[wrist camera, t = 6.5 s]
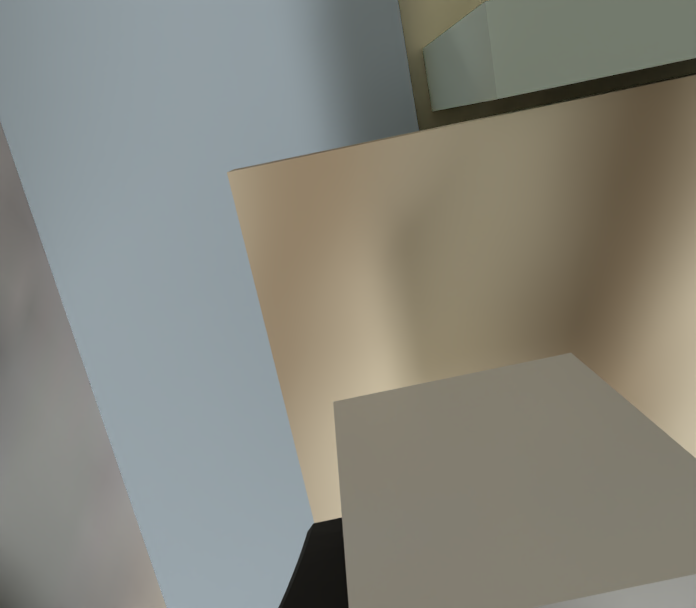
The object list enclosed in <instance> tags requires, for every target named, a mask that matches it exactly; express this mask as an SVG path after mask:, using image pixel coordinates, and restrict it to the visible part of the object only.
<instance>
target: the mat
mask: <svg viewBox="0 0 696 608" xmlns="http://www.w3.org/2000/svg"><path fill="white" fill-rule="evenodd" d="M0 122H1V125H2V128H3V131H4V134H5V136H6V139H7V142H8V145H9V148H10V151H11V154H12V157H13V160H14V163H15V166H16V169H17V171H18V174H19V177H20V180H21V183H22V186H23V189H24V192H25V195H26V198H27V201H28V204H29V207H30V209H31V212H32V215H33V218H34V221H35V224H36V227H37V230H38V233H39V236H40V239H41V242H42V244H43V247H44V250H45V253H46V256H47V259H48V262H49V265H50V268H51V271H52V274H53V277H54V280H55V282H56V285H57V288H58V291H59V294H60V297H61V300H62V303H63V306H64V309H65V312H66V315H67V317H68V320H69V323H70V326H71V329H72V332H73V335H74V338H75V341H76V344H77V347H78V350H79V353H80V355H81V358H82V361H83V364H84V367H85V370H86V373H87V376H88V379H89V382H90V385H91V388H92V390H93V393H94V396H95V399H96V402H97V405H98V408H99V411H100V414H101V417H102V420H103V423H104V426H105V428H106V431H107V434H108V437H109V440H110V443H111V446H112V449H113V452H114V455H115V458H116V461H117V463H118V466H119V469H120V472H121V475H122V478H123V481H124V484H125V487H126V490H127V493H128V496H129V499H130V501H131V504H132V507H133V510H134V513H135V516H136V519H137V522H138V525H139V528H140V531H141V534H142V536H143V539H144V542H145V545H146V548H147V551H148V554H149V557H150V560H151V563H152V566H153V569H154V572H155V574H156V577H157V580H158V583H159V586H160V589H161V592H162V595H163V598H164V601H165V604H166V607H167V608H278V607H279V605H280V603H281V601H282V599H283V596H284V594H285V592H286V589H287V587H288V584H289V582H290V579H291V577H292V574H293V572H294V569H295V567H296V564H297V561H298V559H299V556H300V553H301V550H302V547H303V544H304V541H305V538H306V535H307V531H308V530H309V529H310V527H311V526H312V524H313V523H314V520H313V516H312V512H311V508H310V504H309V500H308V496H307V492H306V488H305V484H304V480H303V476H302V472H301V468H300V464H299V460H298V456H297V452H296V448H295V444H294V440H293V436H292V432H291V428H290V424H289V420H288V416H287V412H286V408H285V404H284V400H283V396H282V392H281V388H280V384H279V380H278V376H277V371H276V367H275V363H274V359H273V355H272V351H271V347H270V343H269V339H268V335H267V331H266V327H265V323H264V319H263V315H262V311H261V307H260V303H259V299H258V295H257V291H256V287H255V283H254V279H253V275H252V271H251V267H250V263H249V259H248V255H247V251H246V247H245V243H244V239H243V235H242V231H241V227H240V223H239V219H238V215H237V211H236V207H235V203H234V199H233V195H232V191H231V187H230V183H229V179H228V175H227V172H229V171H231V170H233V169H238V168H243V167H248V166H253V165H257V164H262V163H267V162H272V161H277V160H282V159H286V158H291V157H296V156H301V155H306V154H310V153H315V152H320V151H325V150H330V149H334V148H339V147H344V146H349V145H354V144H358V143H363V142H368V141H373V140H378V139H382V138H387V137H392V136H397V135H402V134H407V133H411V132H416V131H419V127H418V121H417V115H416V109H415V102H414V96H413V90H412V84H411V78H410V71H409V65H408V59H407V53H406V47H405V40H404V34H403V28H402V22H401V16H400V9H399V3H398V0H0Z"/></svg>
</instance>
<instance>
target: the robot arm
mask: <svg viewBox="0 0 696 608" xmlns="http://www.w3.org/2000/svg"><path fill="white" fill-rule="evenodd" d="M278 608H349V604H348V591H347V578H346V564H345V551H344V538H343V525H342V517H341V518H337V519H332V520H327V521H322V522H317V523H313V524H312V526H311V527H310V529H309V530H308V531H307V535H306V538H305V541H304V544H303V547H302V550H301V553H300V556H299V559H298V561H297V564H296V567H295V569H294V572H293V574H292V577H291V579H290V582H289V584H288V587H287V589H286V592H285V594H284V596H283V599H282V601H281V603H280V605H279V607H278Z"/></svg>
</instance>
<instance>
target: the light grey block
mask: <svg viewBox="0 0 696 608" xmlns="http://www.w3.org/2000/svg"><path fill="white" fill-rule="evenodd" d="M333 407H334V420H335V433H336V446H337V459H338V472H339V486H340V499H341V512H342V525H343V538H344V551H345V564H346V578H347V591H348V604H349V608H696V458H695V457H694V456H692V455H691V454H690V453H689V452H688V451H687V450H685V449H684V448H683V447H682V446H681V445H679V444H678V443H677V442H676V441H675V440H674V439H672V438H671V437H670V436H669V435H668V434H666V433H665V432H664V431H663V430H662V429H661V428H659V427H658V426H657V425H656V424H655V423H653V422H652V421H651V420H650V419H649V418H648V417H646V416H645V415H644V414H643V413H642V412H640V411H639V410H638V409H637V408H636V407H635V406H633V405H632V404H631V403H630V402H629V401H627V400H626V399H625V398H624V397H623V396H622V395H620V394H619V393H618V392H617V391H616V390H614V389H613V388H612V387H611V386H610V385H609V384H607V383H606V382H605V381H604V380H603V379H601V378H600V377H599V376H598V375H597V374H596V373H594V372H593V371H592V370H591V369H590V368H588V367H587V366H586V365H585V364H584V363H583V362H581V361H580V360H579V359H578V358H577V357H575V356H574V355H573V354H572V353H567V354H562V355H557V356H553V357H548V358H543V359H538V360H533V361H528V362H523V363H519V364H514V365H509V366H504V367H499V368H494V369H489V370H485V371H480V372H475V373H470V374H465V375H460V376H455V377H451V378H446V379H441V380H436V381H431V382H426V383H421V384H417V385H412V386H407V387H402V388H397V389H392V390H388V391H383V392H378V393H373V394H368V395H363V396H358V397H354V398H349V399H344V400H339V401H334V402H333Z"/></svg>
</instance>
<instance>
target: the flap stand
mask: <svg viewBox="0 0 696 608" xmlns="http://www.w3.org/2000/svg"><path fill="white" fill-rule="evenodd" d="M423 55H424V62H425V68H426V75H427V81H428V88H429V94H430V101H431V107H432V111H437V110H442V109H448V108H453V107H458V106H464V105H469V104H475V103H480V102H485V101H491V100H496V99H501V98H506V97H510V96H515V95H520V94H525V93H530V92H535V91H539V90H544V89H549V88H554V87H559V86H563V85H568V84H573V83H578V82H583V81H587V80H592V79H597V78H602V77H607V76H612V75H616V74H621V73H626V72H631V71H636V70H640V69H645V68H650V67H655V66H660V65H664V64H669V63H674V62H679V61H684V60H688V59H693V58H696V0H489V1H485V2H484V3H482V4H481V5H480V6H478V7H477V8H476V9H474V10H473V11H472V12H470V13H469V14H468V15H466V16H465V17H464V18H462V19H461V20H460V21H459V22H457V23H456V24H455V25H453V26H452V27H451V28H449V29H448V30H447V31H445V32H444V33H443V34H441V35H440V36H439V37H437V38H436V39H435V40H434V41H432V42H431V43H430V44H428V45H427V46H426V47H424V48H423Z"/></svg>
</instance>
